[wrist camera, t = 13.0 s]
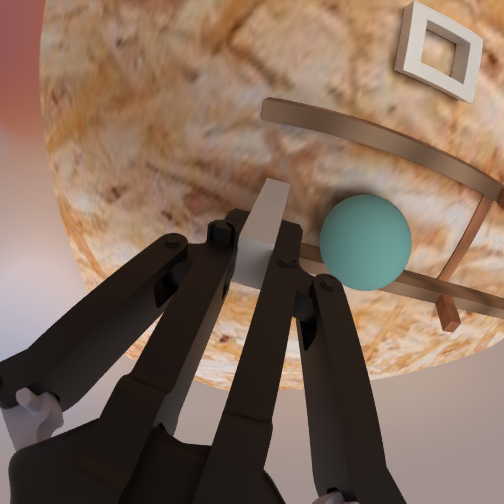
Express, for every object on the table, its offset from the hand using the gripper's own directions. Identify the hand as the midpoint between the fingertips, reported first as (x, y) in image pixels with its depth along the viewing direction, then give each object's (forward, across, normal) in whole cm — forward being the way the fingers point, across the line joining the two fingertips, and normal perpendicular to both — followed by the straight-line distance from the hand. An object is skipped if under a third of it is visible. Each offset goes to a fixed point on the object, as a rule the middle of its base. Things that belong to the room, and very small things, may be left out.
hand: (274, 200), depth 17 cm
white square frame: (+2, +7, +13) cm, 15 cm away
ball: (-1, +6, 0) cm, 6 cm away
